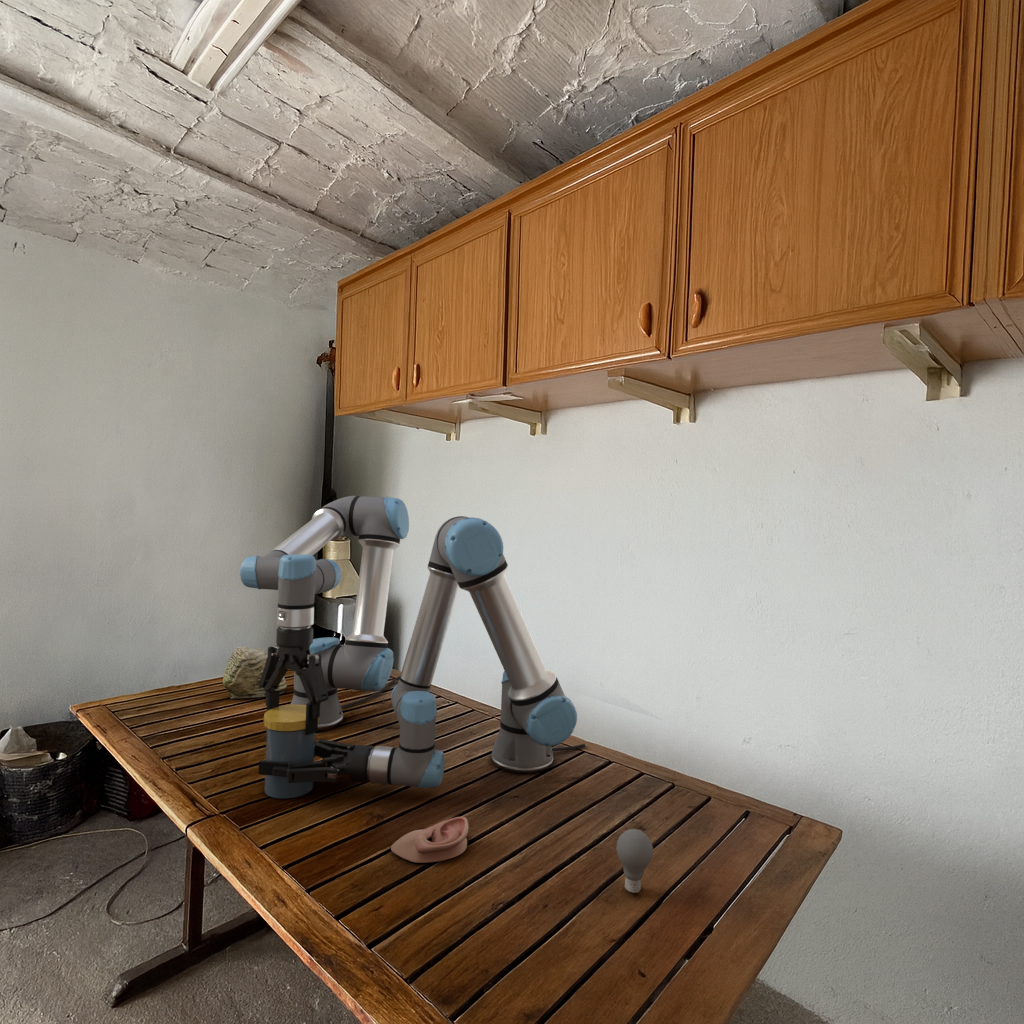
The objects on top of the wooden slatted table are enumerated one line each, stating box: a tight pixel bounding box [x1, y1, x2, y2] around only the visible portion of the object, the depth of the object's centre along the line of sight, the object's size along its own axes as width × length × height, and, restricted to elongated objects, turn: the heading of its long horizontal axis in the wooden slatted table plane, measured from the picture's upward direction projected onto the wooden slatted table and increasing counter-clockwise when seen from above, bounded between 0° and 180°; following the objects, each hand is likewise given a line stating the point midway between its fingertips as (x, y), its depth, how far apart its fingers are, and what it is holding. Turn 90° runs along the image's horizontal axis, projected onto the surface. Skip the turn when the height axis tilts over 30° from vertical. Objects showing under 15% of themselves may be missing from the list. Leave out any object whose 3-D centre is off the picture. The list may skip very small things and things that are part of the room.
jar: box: [263, 728, 317, 799], centre depth 137 cm, size 10×10×16 cm
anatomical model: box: [390, 816, 469, 864], centre depth 116 cm, size 13×4×12 cm
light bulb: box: [615, 828, 654, 894], centre depth 106 cm, size 6×6×10 cm
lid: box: [262, 704, 319, 731], centre depth 137 cm, size 11×11×2 cm
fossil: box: [222, 646, 288, 699], centre depth 198 cm, size 9×18×15 cm, turn 132°
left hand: (291, 727), depth 137 cm, fingers closed on lid, 11 cm apart
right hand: (271, 756), depth 137 cm, fingers closed on jar, 10 cm apart
